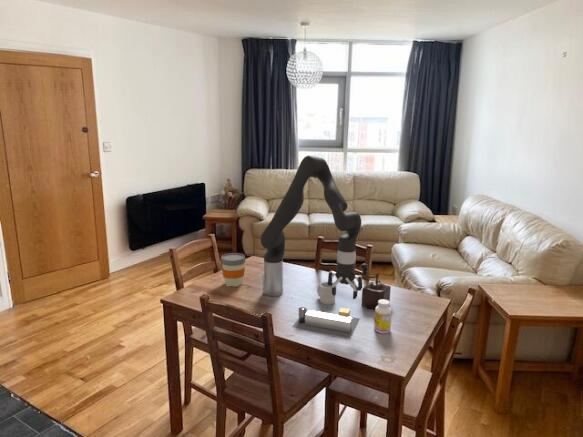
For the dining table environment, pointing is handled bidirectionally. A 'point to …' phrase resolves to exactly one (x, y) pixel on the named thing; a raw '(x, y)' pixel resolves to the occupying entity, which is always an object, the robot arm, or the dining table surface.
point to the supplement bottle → (383, 316)
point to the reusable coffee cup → (233, 268)
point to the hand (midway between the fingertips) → (344, 296)
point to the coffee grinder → (373, 291)
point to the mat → (328, 331)
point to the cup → (325, 293)
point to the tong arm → (331, 316)
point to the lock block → (344, 312)
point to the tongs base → (323, 321)
